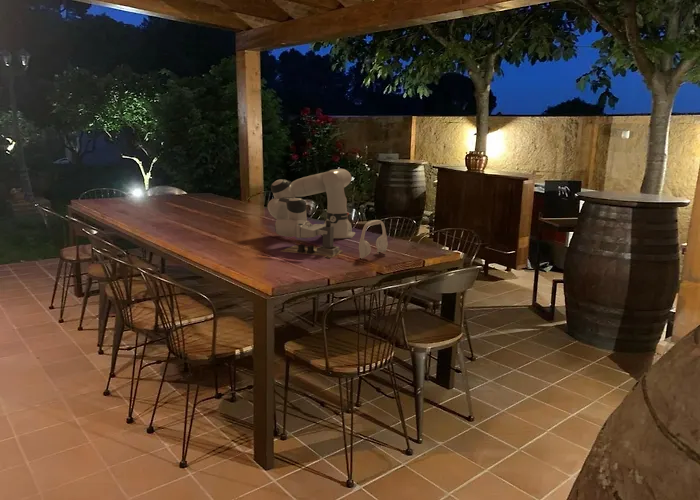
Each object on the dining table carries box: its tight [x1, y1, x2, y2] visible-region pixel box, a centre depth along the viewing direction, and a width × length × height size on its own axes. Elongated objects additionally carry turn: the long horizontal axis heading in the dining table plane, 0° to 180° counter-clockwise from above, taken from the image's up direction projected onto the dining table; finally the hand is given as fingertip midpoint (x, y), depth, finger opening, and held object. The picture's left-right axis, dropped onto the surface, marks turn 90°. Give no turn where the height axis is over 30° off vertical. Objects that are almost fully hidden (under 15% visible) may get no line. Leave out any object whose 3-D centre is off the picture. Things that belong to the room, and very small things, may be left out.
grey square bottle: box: [322, 219, 334, 248], centre depth 274 cm, size 4×4×13 cm
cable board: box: [281, 244, 344, 259], centre depth 279 cm, size 16×27×5 cm, turn 69°
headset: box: [358, 219, 389, 259], centre depth 273 cm, size 20×7×18 cm, turn 143°
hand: (329, 231), depth 273 cm, fingers closed on grey square bottle, 4 cm apart
